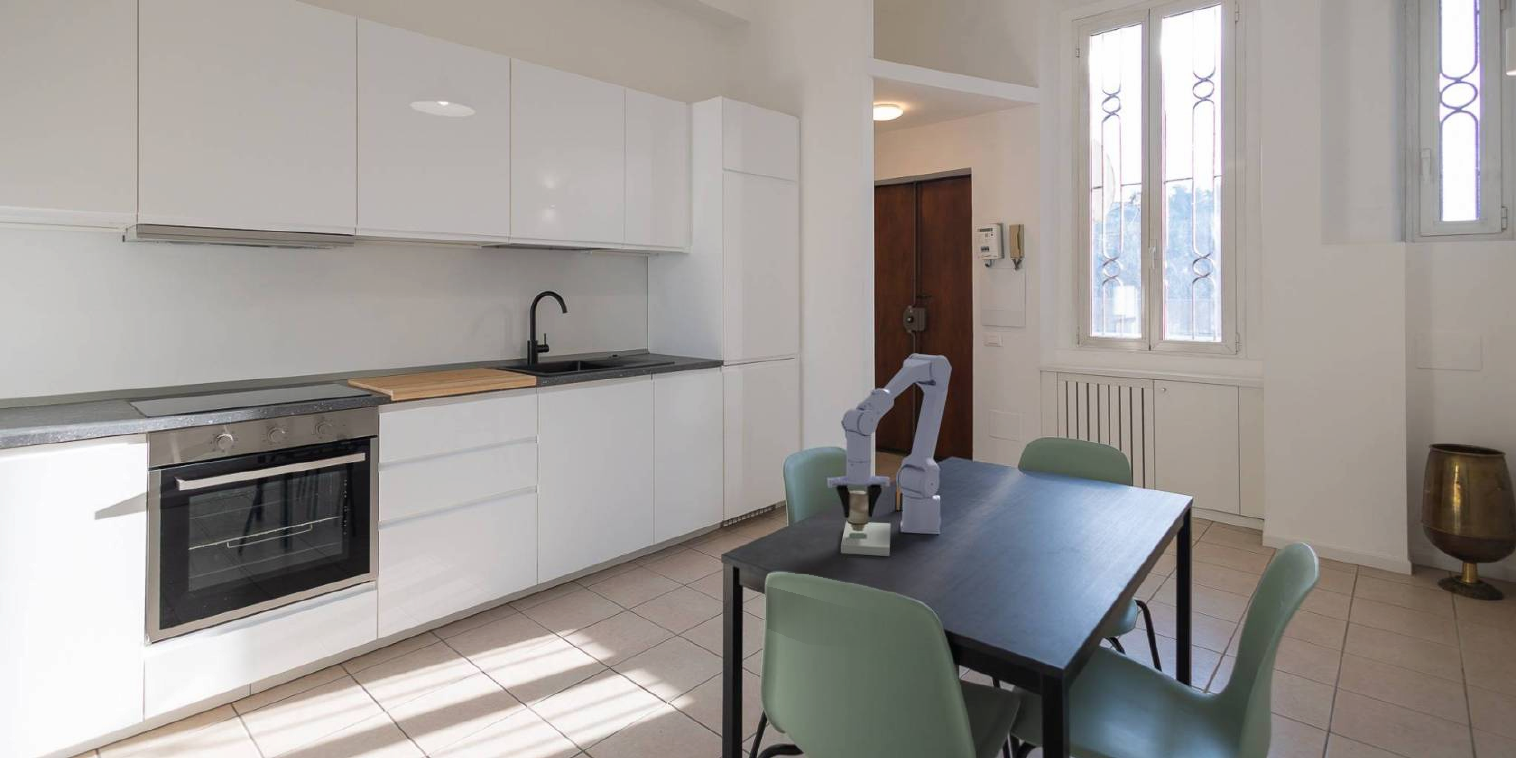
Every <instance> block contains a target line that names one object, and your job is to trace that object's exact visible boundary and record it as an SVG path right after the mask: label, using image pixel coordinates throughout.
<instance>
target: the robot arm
mask: <svg viewBox="0 0 1516 758" xmlns="http://www.w3.org/2000/svg"><path fill="white" fill-rule="evenodd" d="M952 369H953V367H952V365H951V363H950V362H949V359H948V358H947V357H946V356H944V355H933V354H932V355H931V354H930V355H929V354H921V353H920V354H919V353H912V354H910V355H909V356H908V357H907V358H906V359H904V360H903V363H902V367H901V369H899V371H898V372H897V373H896V374H895V375H894V377H892V378H891V380H889V382H888V383H887V384H886V385H885V386H884V388H881V387H880V388H879V387H878V388H874V389H872V390H871V391H870V394H869V395H868V396H867V397H866V398H864V400H863V401H861V402H859V403H858V405H857V406H856V407H854V408H849V409H848V410H847V411H846V412H845V413H844V414H843V417H842V420H840V423H841V426H842V429H843V430H844V437H845V439H846V459H845V460H846V467H845V470H846V472H845V473H846V475H844V476H836V477H827V479H826V480H827V481H826V483H827V487H828V489H831V488H835V490H836V492H837V494H838V497H839V498H840V502H841V505H842V511H843V516H844V518H845V519H847V518H849V508H848V502H849V488H850V487H852V488H854V487H866V490H867V491H866V492H868V493H869V518H872V517H873V515H874V514H873V513H874V509H875V507H876V503H877V501H878V499H879V497H880V495H881V493H882V491H883V489H882V487H886V488H887V487H890V486H891V484H890V483H891V478H890V477H889V476H881V475H879V476H876V475H872V434H873V433H875V432H876V430H877V427H878V425H879V422H880V420H881V419H882V418H883V416H885V414H886V413H888V412H889V411H890V410H891V409H892V408H893V407H894V403H895V400H894V399H895V398H897V397H898V396H900V394H901V393H903V392H904V391H905V390H906V389H907V388H909V387H910V386H911V385H912V384H913V383H916V385H917V386H918V387H920V388H921V390H922V391H923V398H922V404H921V408H920V412H919V417H918V422H917V427H916V432H915V435H914V439H913V445H912V449H911V453H910V454H909V455H908V456H906V457H904V458H903V459H902V462H901V466H900V467H899V468H900V469H899V468H898V470H899V471H897V473H896V477H895V481H896V486H897V485H898V487H899V488H901V493H903V511H901V512H902V513H901V515H902V519H901V521H900V533H905V534H906V533H907V534H908V533H909V534H910V533H911V534H927V535H930V534H931V535H940V534H941V525H942V517H941V496H940V495H936V493H937V492H938V490H939V487H940V471H941V468H940V466H939V465H938V464H937V463H936V461H935V460H934V455H935V451H936V447H937V442H938V437H939V433H940V428H941V423H942V420H943V419H942V418H943V415H944V410H945V406H946V405H945V404H946V401H947V397H948V396H947V395H948V390H949V384H950V379H951V373H952ZM916 467H920V468H916Z"/></svg>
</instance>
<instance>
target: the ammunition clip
mask: <svg viewBox="0 0 1516 758" xmlns="http://www.w3.org/2000/svg"><path fill="white" fill-rule="evenodd" d="M916 468H919V466H918V467H916ZM899 469H900V467H899V468H898V471H899ZM919 469H920V468H919ZM898 471H897V472H898ZM894 497H895V498H894V510H895V511H897V510H898V512H902V510H903V493H901V488H899V487H898V485H897V484H896V491H895V495H894Z"/></svg>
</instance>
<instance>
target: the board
mask: <svg viewBox="0 0 1516 758" xmlns="http://www.w3.org/2000/svg"><path fill="white" fill-rule="evenodd" d="M843 529H844V530H843V534H842V539H841V542H840V554H850V555H870V556H884V557H891V556H890V553H891V552H890V551H891V550H890V548H891V523H887V522H869V523H868V524H866V525H865V527H864V528H863V531H854V530H852V527H851V524H849V523H848V522H847V520H846V521H845V525H844V528H843Z"/></svg>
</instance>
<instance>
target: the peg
mask: <svg viewBox="0 0 1516 758" xmlns="http://www.w3.org/2000/svg"><path fill="white" fill-rule="evenodd" d="M848 491H849V490H848ZM848 508H849V518H846V521H847V522H848V523H849V524H851V527H852V530H854V531H863V528H864V527H865V525H866V524H868V523H869V519H870V517H869V493H868V492H867V491H865V490H850V491H849V502H848Z"/></svg>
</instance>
